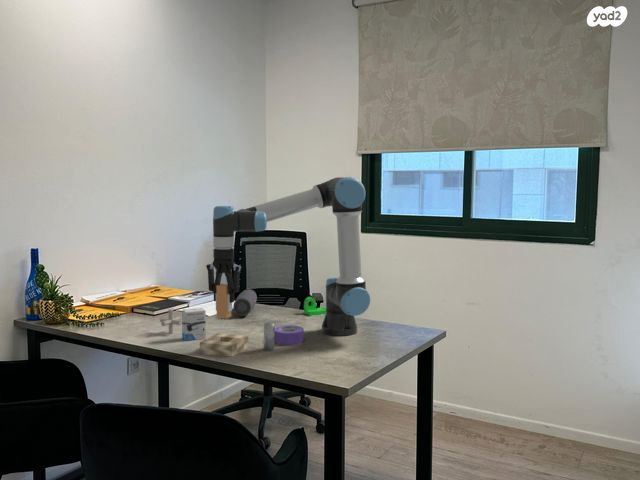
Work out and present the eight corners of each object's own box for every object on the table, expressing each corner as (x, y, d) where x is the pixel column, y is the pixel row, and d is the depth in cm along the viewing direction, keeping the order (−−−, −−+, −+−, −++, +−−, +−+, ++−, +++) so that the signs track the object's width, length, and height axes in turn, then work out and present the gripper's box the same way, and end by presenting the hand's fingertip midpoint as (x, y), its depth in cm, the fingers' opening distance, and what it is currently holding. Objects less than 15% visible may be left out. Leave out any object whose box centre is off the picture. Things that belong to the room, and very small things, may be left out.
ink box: (185, 341, 227) (184, 312, 226) (182, 338, 232) (181, 309, 230) (206, 338, 231) (206, 309, 230) (202, 335, 235) (202, 307, 234)
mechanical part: (310, 316, 272) (310, 299, 271) (303, 313, 277) (303, 297, 276) (331, 313, 278) (331, 297, 277) (325, 311, 283) (325, 295, 282)
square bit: (231, 316, 216) (231, 284, 215) (226, 318, 212) (226, 286, 211) (221, 315, 217) (221, 283, 216) (216, 317, 214) (216, 285, 212)
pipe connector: (188, 331, 241) (188, 308, 240) (173, 337, 232) (172, 313, 231) (169, 329, 246) (169, 306, 245) (153, 334, 237) (152, 310, 236)
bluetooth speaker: (252, 318, 266) (252, 297, 265) (232, 318, 267) (232, 297, 266) (258, 307, 289) (258, 288, 288) (239, 307, 289) (239, 288, 288)
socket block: (248, 346, 221) (248, 336, 221) (232, 356, 208) (232, 345, 207) (217, 343, 225) (217, 333, 224) (199, 353, 212) (199, 342, 211)
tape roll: (292, 347, 221) (292, 334, 221) (267, 342, 227) (267, 329, 227) (309, 340, 231) (309, 327, 231) (285, 335, 237) (285, 323, 237)
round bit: (275, 348, 218) (276, 322, 217) (272, 351, 215) (272, 324, 214) (265, 347, 220) (266, 321, 219) (262, 350, 216) (262, 323, 215)
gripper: (249, 247, 214) (249, 310, 216) (207, 245, 219) (208, 306, 221) (240, 250, 206) (240, 314, 209) (197, 248, 211) (198, 310, 214)
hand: (224, 310), depth 215 cm, fingers closed on square bit, 4 cm apart
